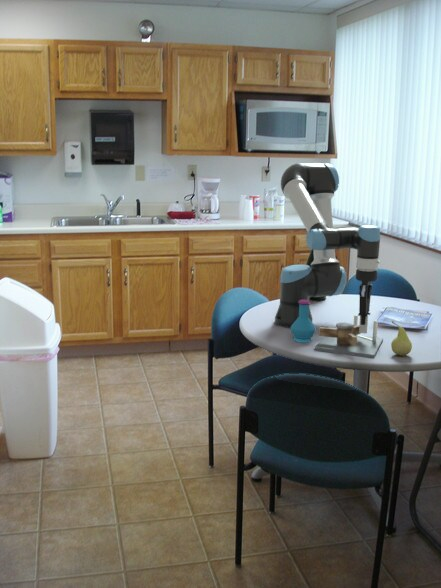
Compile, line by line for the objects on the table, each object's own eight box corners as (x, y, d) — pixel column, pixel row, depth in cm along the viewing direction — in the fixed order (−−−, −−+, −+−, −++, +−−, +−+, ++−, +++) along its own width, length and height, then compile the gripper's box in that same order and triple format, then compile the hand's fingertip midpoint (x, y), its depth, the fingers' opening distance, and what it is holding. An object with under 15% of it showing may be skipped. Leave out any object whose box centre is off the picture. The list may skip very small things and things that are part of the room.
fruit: (409, 359, 233) (412, 325, 230) (387, 356, 236) (390, 323, 233) (412, 353, 239) (414, 321, 236) (390, 351, 242) (392, 318, 239)
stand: (314, 349, 242) (315, 325, 240) (327, 334, 261) (328, 311, 259) (373, 357, 234) (375, 332, 232) (382, 340, 253) (384, 317, 251)
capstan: (354, 351, 236) (355, 332, 234) (317, 340, 247) (318, 322, 246) (380, 342, 247) (381, 324, 245) (344, 332, 258) (345, 315, 256)
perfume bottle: (285, 339, 254) (286, 300, 250) (300, 334, 260) (302, 296, 256) (304, 344, 247) (306, 305, 244) (320, 339, 254) (322, 300, 250)
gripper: (374, 273, 235) (370, 338, 241) (380, 266, 247) (376, 329, 253) (353, 271, 238) (349, 336, 243) (359, 265, 250) (355, 326, 255)
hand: (363, 332), depth 248 cm, fingers closed
